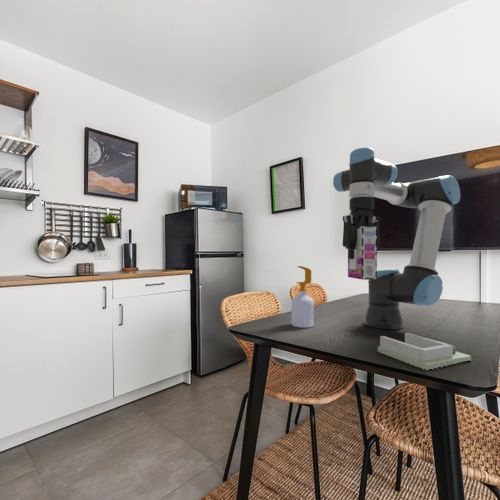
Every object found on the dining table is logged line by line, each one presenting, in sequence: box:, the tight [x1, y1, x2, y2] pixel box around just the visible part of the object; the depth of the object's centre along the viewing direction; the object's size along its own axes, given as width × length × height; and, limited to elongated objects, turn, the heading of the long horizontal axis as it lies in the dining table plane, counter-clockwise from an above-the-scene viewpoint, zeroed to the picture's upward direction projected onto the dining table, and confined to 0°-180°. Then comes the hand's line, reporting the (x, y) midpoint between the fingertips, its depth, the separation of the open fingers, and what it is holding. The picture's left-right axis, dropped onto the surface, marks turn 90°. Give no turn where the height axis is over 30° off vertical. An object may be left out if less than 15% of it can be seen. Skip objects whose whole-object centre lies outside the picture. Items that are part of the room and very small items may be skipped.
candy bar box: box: [347, 226, 378, 281], centre depth 97 cm, size 11×5×16 cm, turn 5°
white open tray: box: [377, 332, 472, 371], centre depth 88 cm, size 18×16×4 cm
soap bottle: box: [291, 265, 315, 329], centre depth 125 cm, size 9×9×25 cm
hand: (361, 269), depth 97 cm, fingers closed on candy bar box, 6 cm apart
